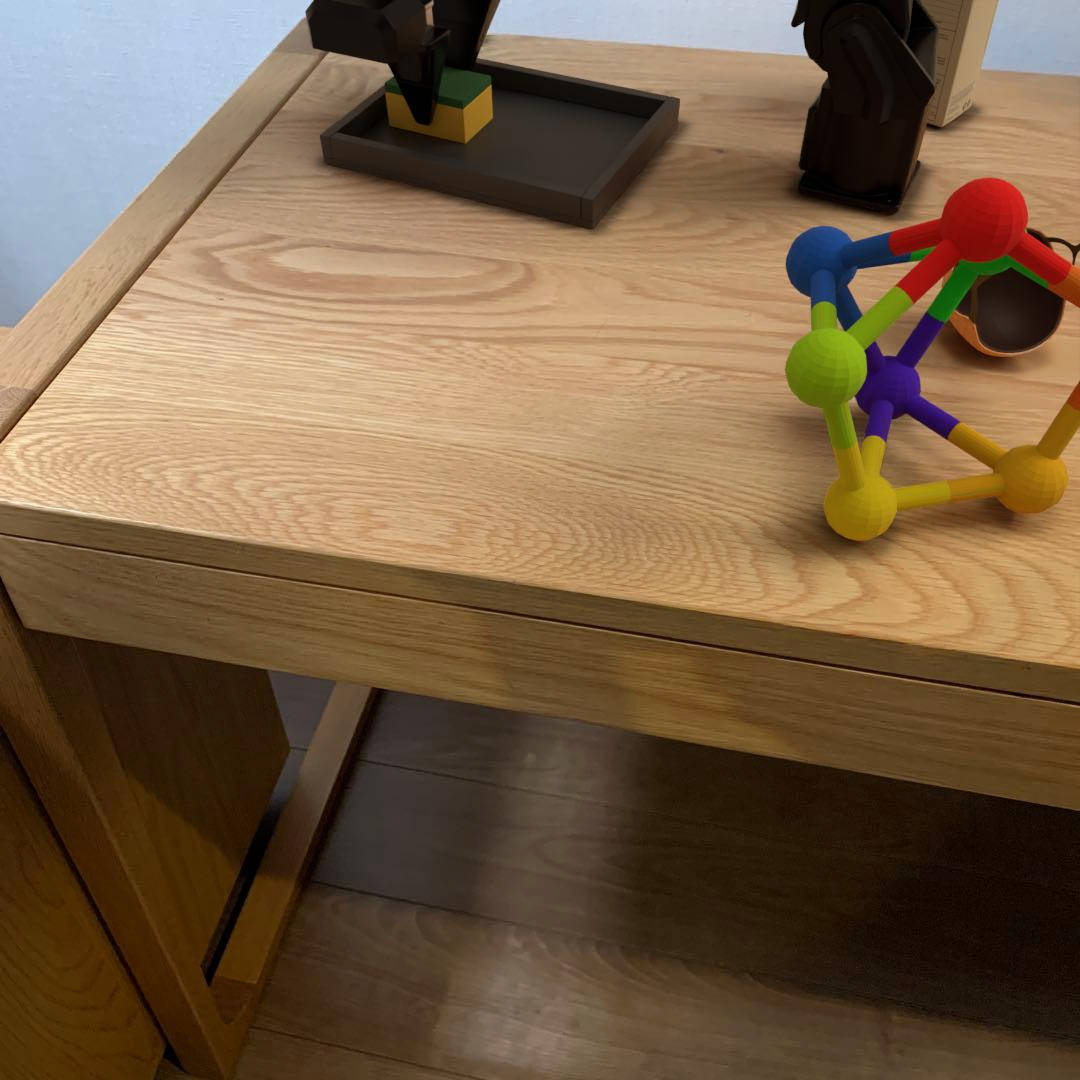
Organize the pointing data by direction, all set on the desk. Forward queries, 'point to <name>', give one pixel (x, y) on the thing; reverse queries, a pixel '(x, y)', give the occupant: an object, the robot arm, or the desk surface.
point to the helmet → (1010, 309)
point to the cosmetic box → (958, 53)
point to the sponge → (447, 106)
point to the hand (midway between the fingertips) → (439, 109)
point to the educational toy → (918, 355)
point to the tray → (519, 144)
